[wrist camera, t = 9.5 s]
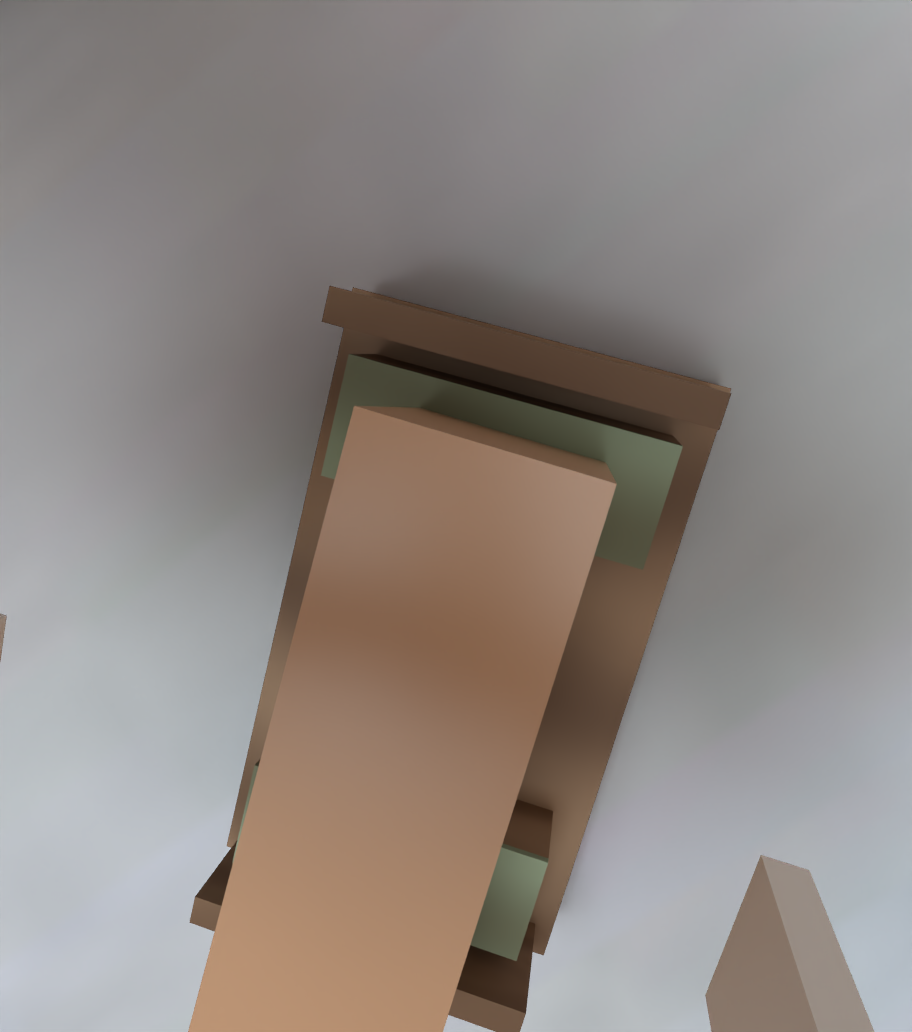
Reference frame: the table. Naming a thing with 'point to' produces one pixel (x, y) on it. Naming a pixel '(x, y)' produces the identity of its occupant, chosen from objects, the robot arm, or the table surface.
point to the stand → (603, 604)
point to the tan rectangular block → (401, 725)
